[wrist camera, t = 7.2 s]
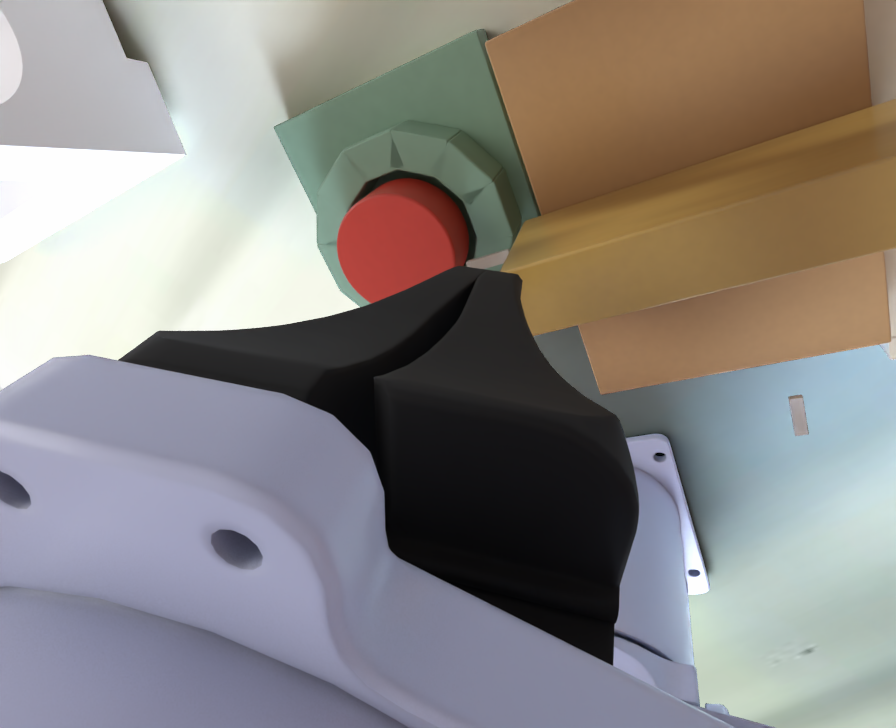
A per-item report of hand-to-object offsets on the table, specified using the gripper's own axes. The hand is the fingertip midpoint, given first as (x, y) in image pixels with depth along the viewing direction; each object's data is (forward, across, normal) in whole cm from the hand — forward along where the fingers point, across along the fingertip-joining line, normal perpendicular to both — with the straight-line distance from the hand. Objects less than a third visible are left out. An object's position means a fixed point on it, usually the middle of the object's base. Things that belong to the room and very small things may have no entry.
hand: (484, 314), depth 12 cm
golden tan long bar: (+6, -6, -2) cm, 8 cm away
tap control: (+10, +4, +2) cm, 11 cm away
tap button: (+8, +4, +2) cm, 9 cm away
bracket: (+11, +22, -1) cm, 24 cm away
